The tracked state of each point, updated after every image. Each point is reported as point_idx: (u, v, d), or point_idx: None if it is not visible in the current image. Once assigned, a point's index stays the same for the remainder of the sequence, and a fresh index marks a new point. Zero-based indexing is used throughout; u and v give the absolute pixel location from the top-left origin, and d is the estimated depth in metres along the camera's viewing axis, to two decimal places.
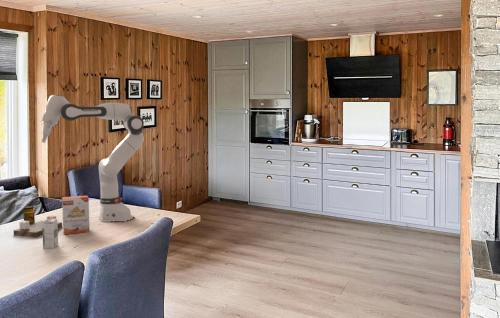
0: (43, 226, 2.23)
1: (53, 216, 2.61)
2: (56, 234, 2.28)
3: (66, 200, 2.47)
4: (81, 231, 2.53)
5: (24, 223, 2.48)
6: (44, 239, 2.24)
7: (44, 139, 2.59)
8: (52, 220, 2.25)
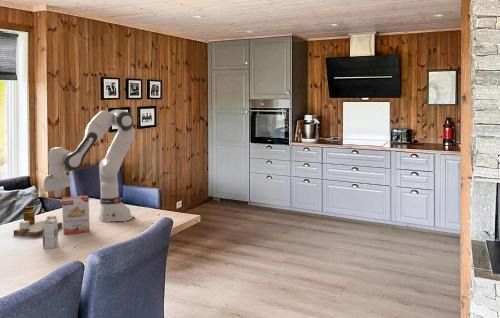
0: (43, 226, 2.23)
1: (53, 216, 2.61)
2: (56, 234, 2.28)
3: (66, 200, 2.47)
4: (81, 231, 2.53)
5: (24, 223, 2.48)
6: (44, 239, 2.24)
7: (55, 193, 2.64)
8: (52, 220, 2.25)
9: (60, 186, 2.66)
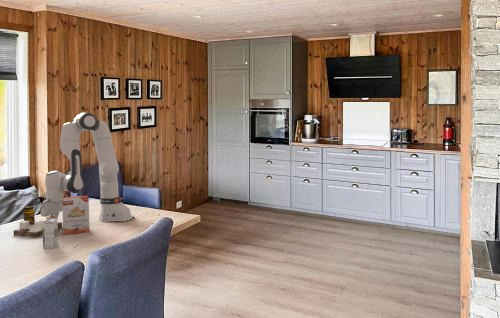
0: (43, 226, 2.23)
1: (52, 216, 2.60)
2: (56, 234, 2.28)
3: (66, 200, 2.47)
4: (81, 231, 2.53)
5: (24, 223, 2.48)
6: (44, 239, 2.24)
7: None
8: (52, 220, 2.25)
9: (57, 210, 2.64)
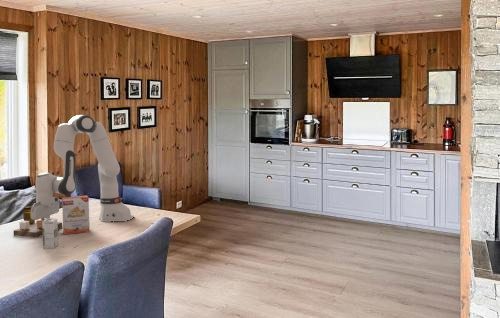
0: (43, 226, 2.23)
1: (43, 220, 2.52)
2: (56, 234, 2.28)
3: (66, 200, 2.47)
4: (81, 231, 2.53)
5: (24, 223, 2.48)
6: (44, 239, 2.24)
7: None
8: (52, 220, 2.25)
9: (48, 213, 2.56)
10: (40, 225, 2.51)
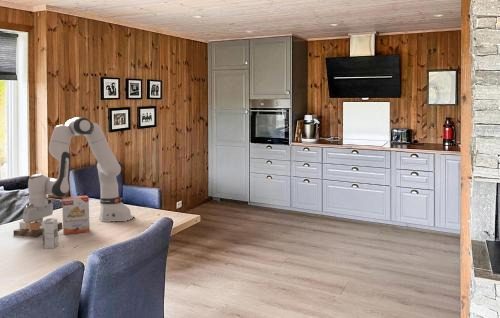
0: (43, 226, 2.23)
1: (36, 222, 2.47)
2: (56, 234, 2.28)
3: (66, 200, 2.47)
4: (81, 231, 2.53)
5: (24, 223, 2.48)
6: (44, 239, 2.24)
7: None
8: (52, 220, 2.25)
9: (41, 215, 2.51)
10: (33, 228, 2.46)
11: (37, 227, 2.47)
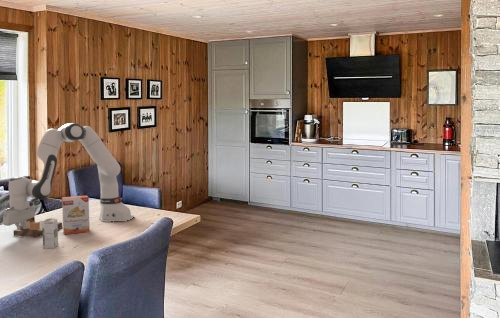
0: (43, 226, 2.23)
1: (36, 222, 2.47)
2: (56, 234, 2.28)
3: (66, 200, 2.47)
4: (81, 231, 2.53)
5: (25, 223, 2.48)
6: (44, 239, 2.24)
7: (17, 226, 2.44)
8: (52, 220, 2.25)
9: (23, 218, 2.46)
10: (33, 227, 2.46)
11: (37, 227, 2.47)
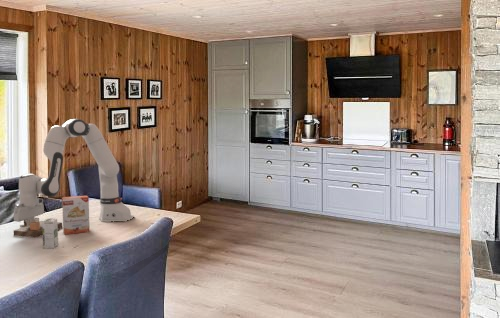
0: (43, 226, 2.23)
1: (36, 222, 2.47)
2: (56, 234, 2.28)
3: (66, 200, 2.47)
4: (81, 231, 2.53)
5: (34, 220, 2.55)
6: (44, 239, 2.24)
7: (27, 222, 2.52)
8: (52, 220, 2.25)
9: (32, 214, 2.53)
10: (33, 227, 2.46)
11: (37, 227, 2.47)
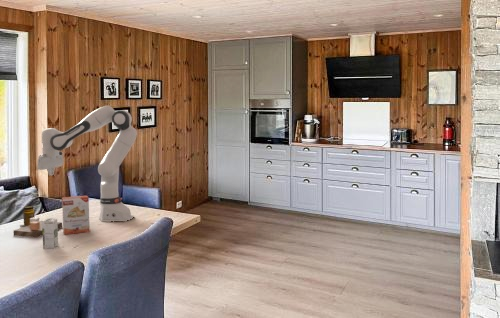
0: (43, 226, 2.23)
1: (36, 222, 2.47)
2: (56, 234, 2.28)
3: (66, 200, 2.47)
4: (81, 231, 2.53)
5: (34, 219, 2.55)
6: (44, 239, 2.24)
7: (49, 172, 2.78)
8: (52, 220, 2.25)
9: (53, 165, 2.80)
10: (33, 227, 2.46)
11: (37, 227, 2.47)
